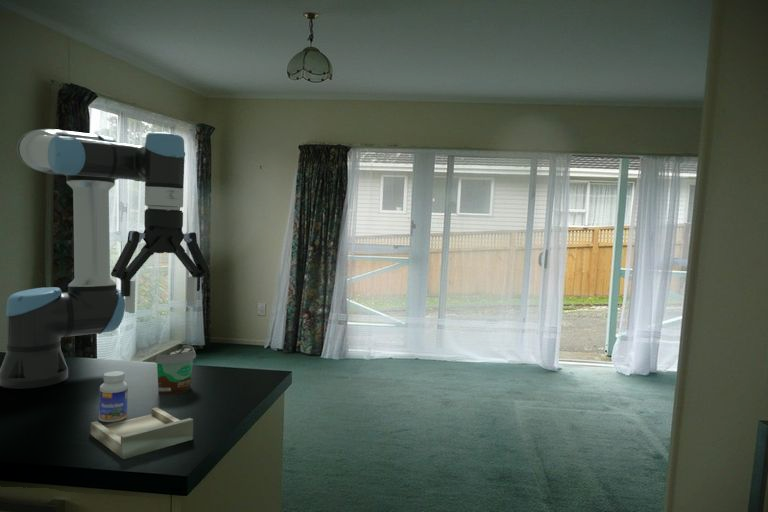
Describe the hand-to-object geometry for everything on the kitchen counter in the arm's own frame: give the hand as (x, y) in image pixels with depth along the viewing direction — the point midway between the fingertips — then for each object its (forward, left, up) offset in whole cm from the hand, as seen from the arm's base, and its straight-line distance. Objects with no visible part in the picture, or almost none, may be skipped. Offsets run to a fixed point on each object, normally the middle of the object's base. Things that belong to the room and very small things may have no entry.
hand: (162, 309), depth 116 cm
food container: (-16, +13, -24) cm, 32 cm away
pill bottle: (-7, -7, -24) cm, 26 cm away
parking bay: (+6, -7, -24) cm, 26 cm away
